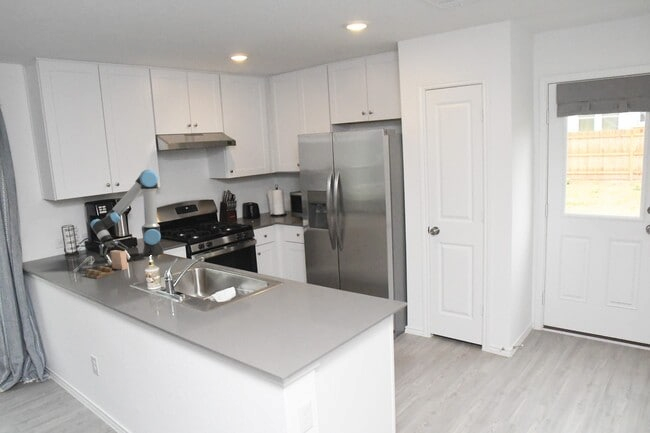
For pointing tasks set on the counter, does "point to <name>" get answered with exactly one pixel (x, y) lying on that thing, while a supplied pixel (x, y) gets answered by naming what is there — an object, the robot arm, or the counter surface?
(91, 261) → the bracket
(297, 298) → the counter surface
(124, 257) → the salmon pink square block
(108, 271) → the rack
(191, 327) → the counter surface
